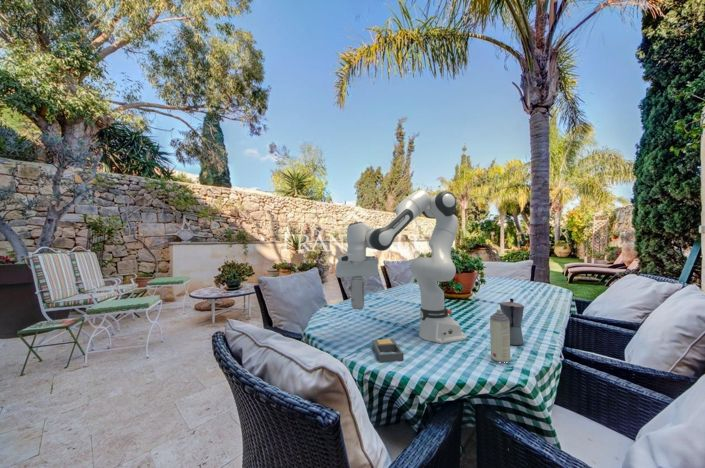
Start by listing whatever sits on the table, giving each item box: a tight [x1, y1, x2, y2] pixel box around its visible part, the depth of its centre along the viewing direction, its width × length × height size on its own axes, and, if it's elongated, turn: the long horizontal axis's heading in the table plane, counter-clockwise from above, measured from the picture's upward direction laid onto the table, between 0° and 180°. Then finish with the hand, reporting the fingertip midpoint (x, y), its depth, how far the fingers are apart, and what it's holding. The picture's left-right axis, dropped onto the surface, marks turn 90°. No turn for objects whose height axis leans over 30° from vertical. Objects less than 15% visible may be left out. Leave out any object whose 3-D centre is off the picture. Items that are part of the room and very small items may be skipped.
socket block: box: [371, 338, 404, 363], centre depth 118 cm, size 10×15×3 cm, turn 7°
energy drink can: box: [350, 276, 365, 311], centre depth 128 cm, size 6×6×15 cm
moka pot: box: [499, 297, 525, 346], centre depth 125 cm, size 10×15×20 cm, turn 155°
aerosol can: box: [489, 308, 511, 364], centre depth 109 cm, size 7×7×20 cm
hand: (357, 286), depth 128 cm, fingers closed on energy drink can, 6 cm apart
